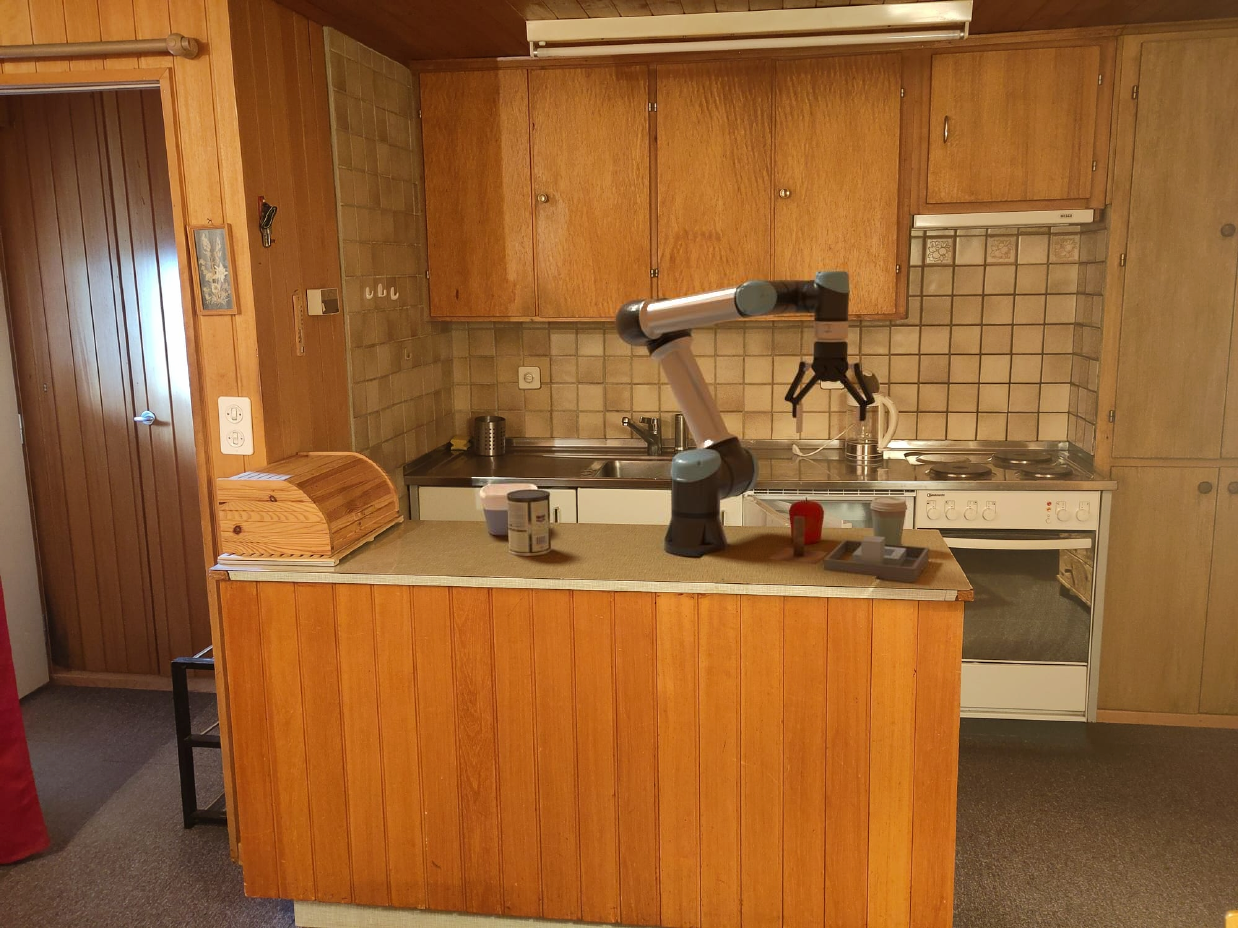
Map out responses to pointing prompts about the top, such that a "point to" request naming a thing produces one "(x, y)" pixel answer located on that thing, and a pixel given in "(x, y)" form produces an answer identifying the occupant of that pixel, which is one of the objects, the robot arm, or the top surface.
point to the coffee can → (529, 522)
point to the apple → (808, 519)
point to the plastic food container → (499, 505)
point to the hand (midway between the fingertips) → (828, 434)
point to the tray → (903, 573)
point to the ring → (878, 552)
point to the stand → (798, 547)
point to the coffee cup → (888, 518)
